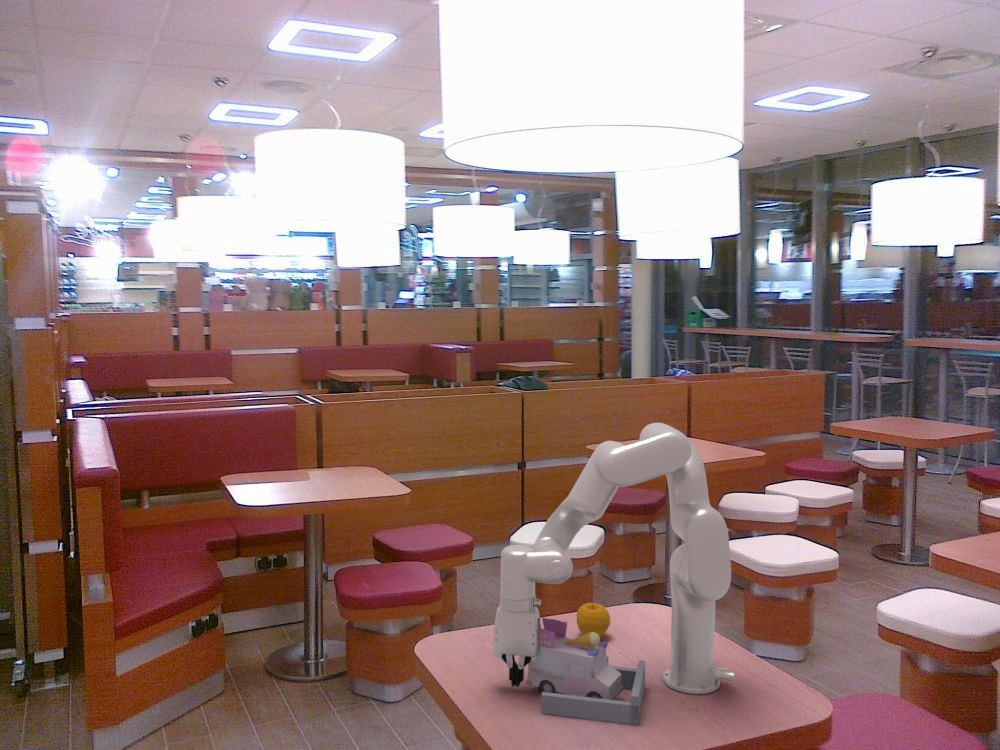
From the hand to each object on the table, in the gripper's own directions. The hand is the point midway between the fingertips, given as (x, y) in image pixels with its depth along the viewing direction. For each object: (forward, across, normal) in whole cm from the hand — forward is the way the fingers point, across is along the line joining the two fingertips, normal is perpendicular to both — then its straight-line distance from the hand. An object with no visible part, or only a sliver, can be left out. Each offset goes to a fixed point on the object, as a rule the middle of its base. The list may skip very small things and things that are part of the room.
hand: (516, 683), depth 192 cm
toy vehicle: (+2, -13, -1) cm, 13 cm away
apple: (+2, -12, -34) cm, 36 cm away
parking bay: (+2, -17, 0) cm, 17 cm away
